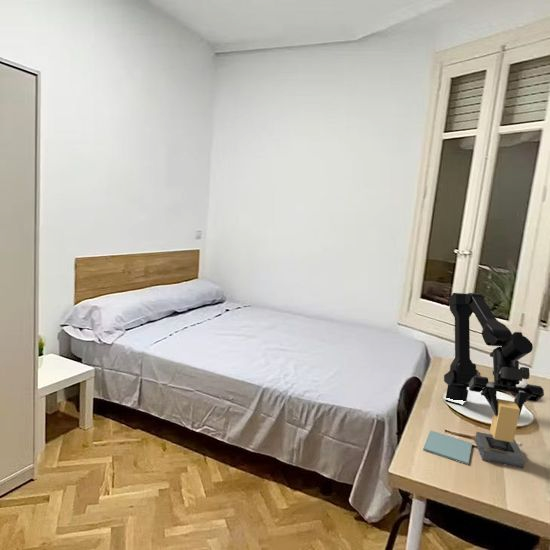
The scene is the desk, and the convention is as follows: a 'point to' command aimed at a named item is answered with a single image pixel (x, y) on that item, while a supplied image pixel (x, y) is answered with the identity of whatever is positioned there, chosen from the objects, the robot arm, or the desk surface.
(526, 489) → the desk surface
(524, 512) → the desk surface
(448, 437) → the rubber mat
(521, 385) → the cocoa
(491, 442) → the square-hole plate
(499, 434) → the ochre square block
